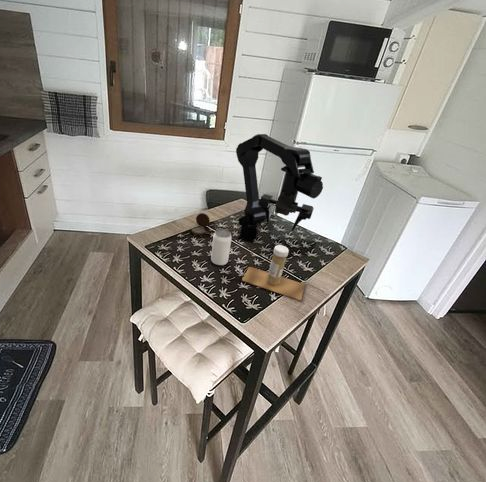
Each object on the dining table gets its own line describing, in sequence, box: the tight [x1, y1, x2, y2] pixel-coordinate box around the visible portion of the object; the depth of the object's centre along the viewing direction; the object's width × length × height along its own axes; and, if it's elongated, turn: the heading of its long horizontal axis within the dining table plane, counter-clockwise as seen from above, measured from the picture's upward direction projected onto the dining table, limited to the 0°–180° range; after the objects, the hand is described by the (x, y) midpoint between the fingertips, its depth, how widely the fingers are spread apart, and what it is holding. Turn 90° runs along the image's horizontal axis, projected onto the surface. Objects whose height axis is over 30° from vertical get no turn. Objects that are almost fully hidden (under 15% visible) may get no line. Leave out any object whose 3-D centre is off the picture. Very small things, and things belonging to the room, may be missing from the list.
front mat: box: [241, 266, 306, 302], centre depth 96 cm, size 20×9×1 cm, turn 67°
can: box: [210, 228, 233, 266], centre depth 101 cm, size 6×6×12 cm
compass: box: [190, 212, 210, 236], centre depth 119 cm, size 8×8×7 cm
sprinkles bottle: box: [267, 244, 290, 285], centre depth 92 cm, size 5×5×14 cm
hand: (279, 226), depth 104 cm, fingers open, 9 cm apart
